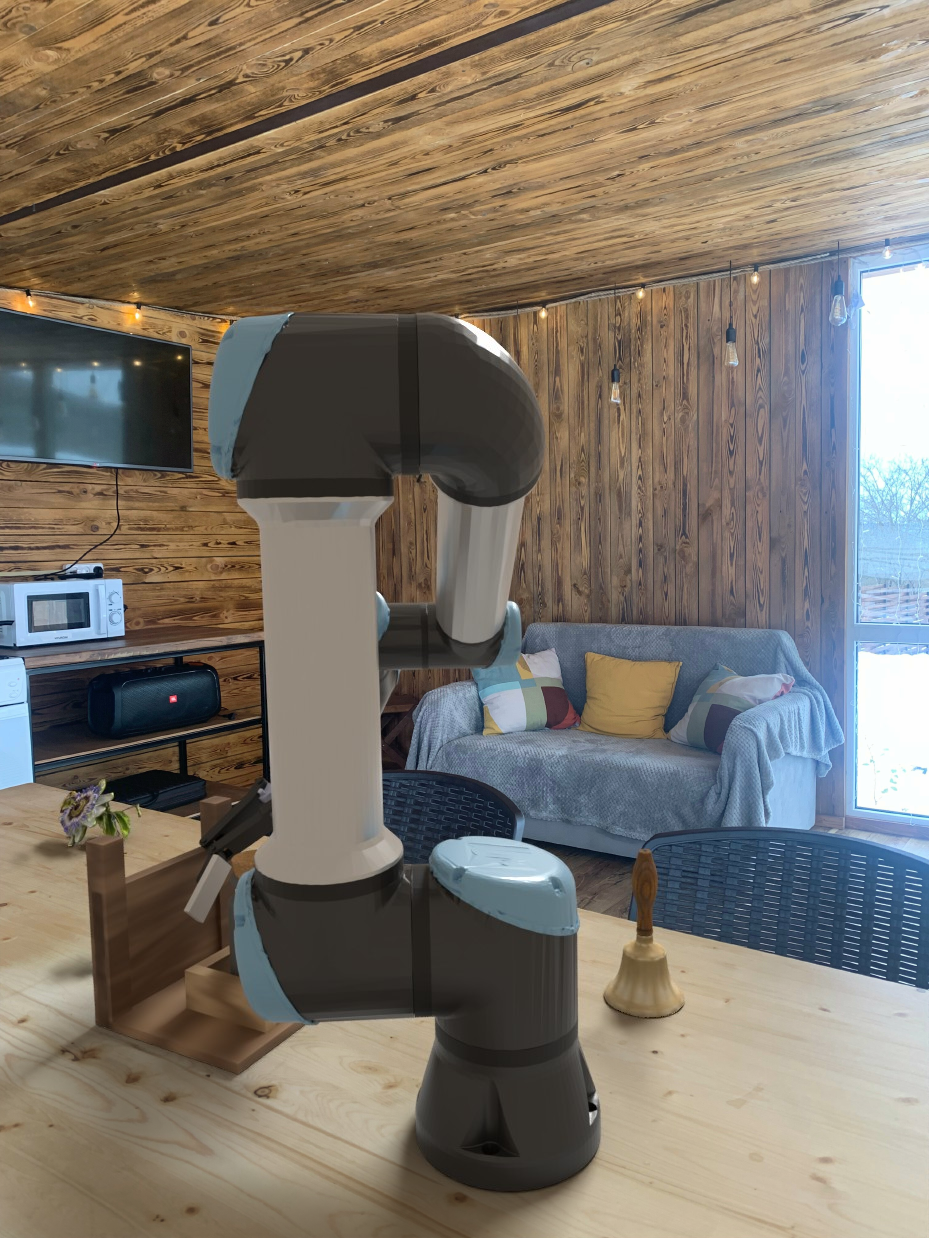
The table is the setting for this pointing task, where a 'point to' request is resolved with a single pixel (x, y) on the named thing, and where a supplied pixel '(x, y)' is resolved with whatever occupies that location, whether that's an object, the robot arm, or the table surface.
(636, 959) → the hand bell
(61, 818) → the passion flower
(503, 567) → the robot arm
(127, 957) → the wooden holder stand
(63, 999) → the table surface
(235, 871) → the bottle
